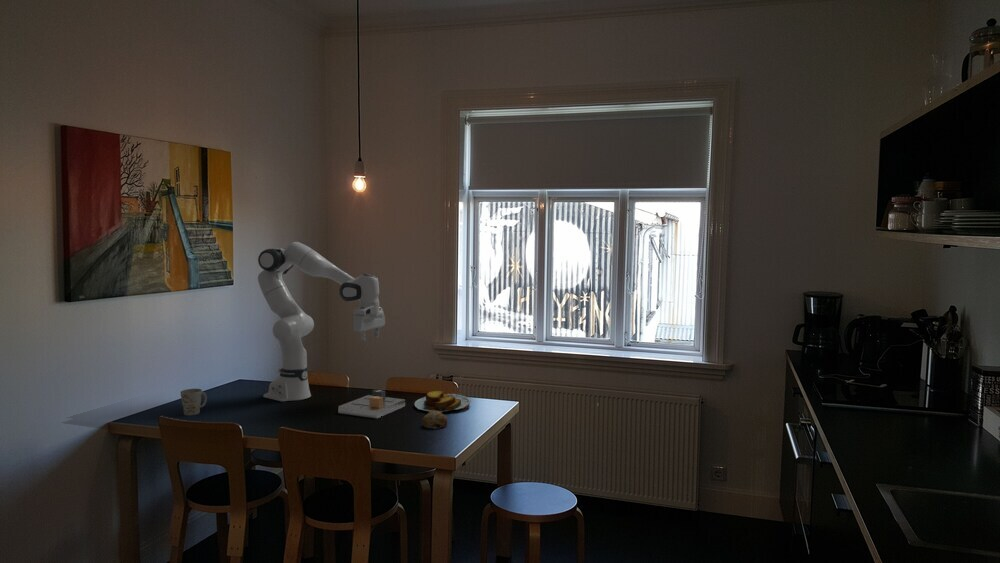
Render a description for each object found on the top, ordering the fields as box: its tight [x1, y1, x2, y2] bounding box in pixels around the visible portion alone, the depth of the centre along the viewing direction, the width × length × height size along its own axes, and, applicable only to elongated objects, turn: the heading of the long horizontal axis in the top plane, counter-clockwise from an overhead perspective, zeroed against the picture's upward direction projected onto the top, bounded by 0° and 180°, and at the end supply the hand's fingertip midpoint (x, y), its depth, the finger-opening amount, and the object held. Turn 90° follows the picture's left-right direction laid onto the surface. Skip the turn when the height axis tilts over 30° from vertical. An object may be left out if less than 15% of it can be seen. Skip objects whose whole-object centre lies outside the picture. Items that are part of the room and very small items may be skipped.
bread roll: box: [421, 410, 448, 430], centre depth 270 cm, size 10×10×8 cm
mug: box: [180, 388, 208, 416], centre depth 288 cm, size 8×13×10 cm, turn 160°
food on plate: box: [414, 390, 471, 413], centre depth 299 cm, size 25×25×7 cm
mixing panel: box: [337, 394, 406, 419], centre depth 294 cm, size 20×22×3 cm
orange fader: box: [369, 396, 383, 408], centre depth 287 cm, size 5×3×4 cm, turn 66°
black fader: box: [371, 389, 386, 400], centre depth 298 cm, size 5×3×4 cm, turn 66°
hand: (370, 338), depth 307 cm, fingers open, 8 cm apart
